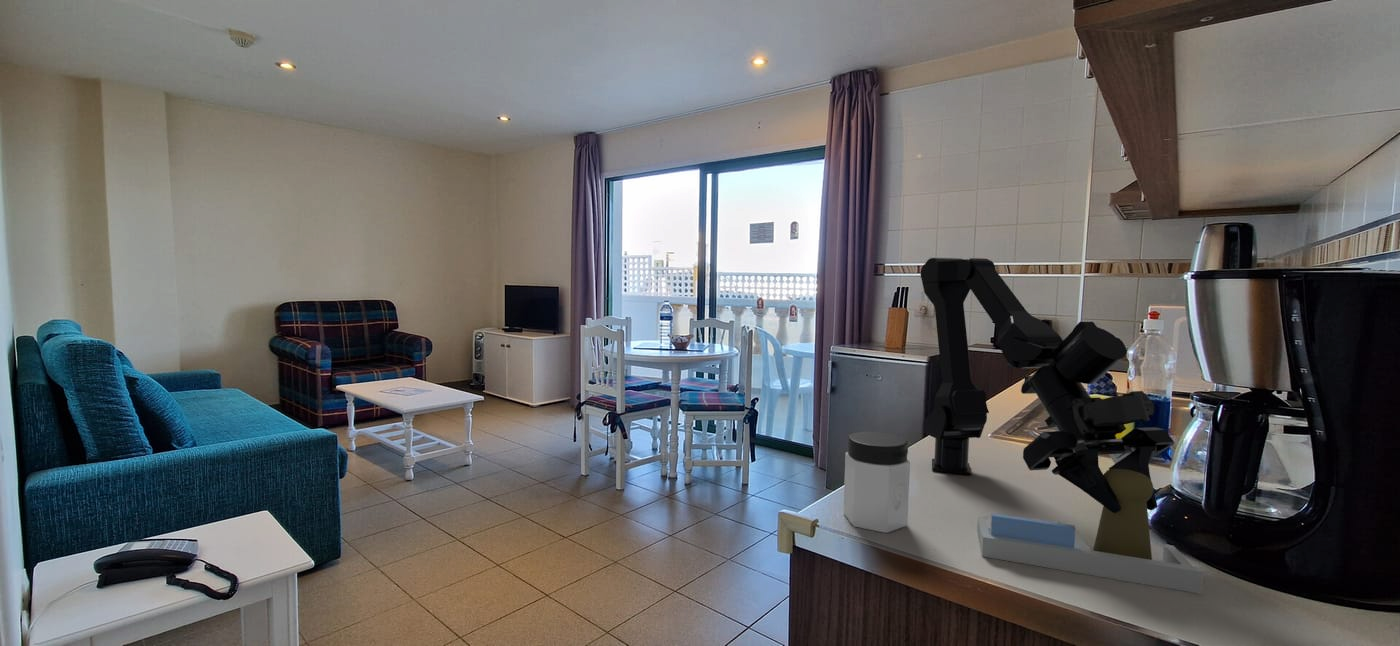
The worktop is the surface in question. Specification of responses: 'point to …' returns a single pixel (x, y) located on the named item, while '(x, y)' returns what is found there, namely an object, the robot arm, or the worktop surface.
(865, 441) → the jar
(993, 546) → the shallow tray
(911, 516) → the worktop surface
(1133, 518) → the cork
